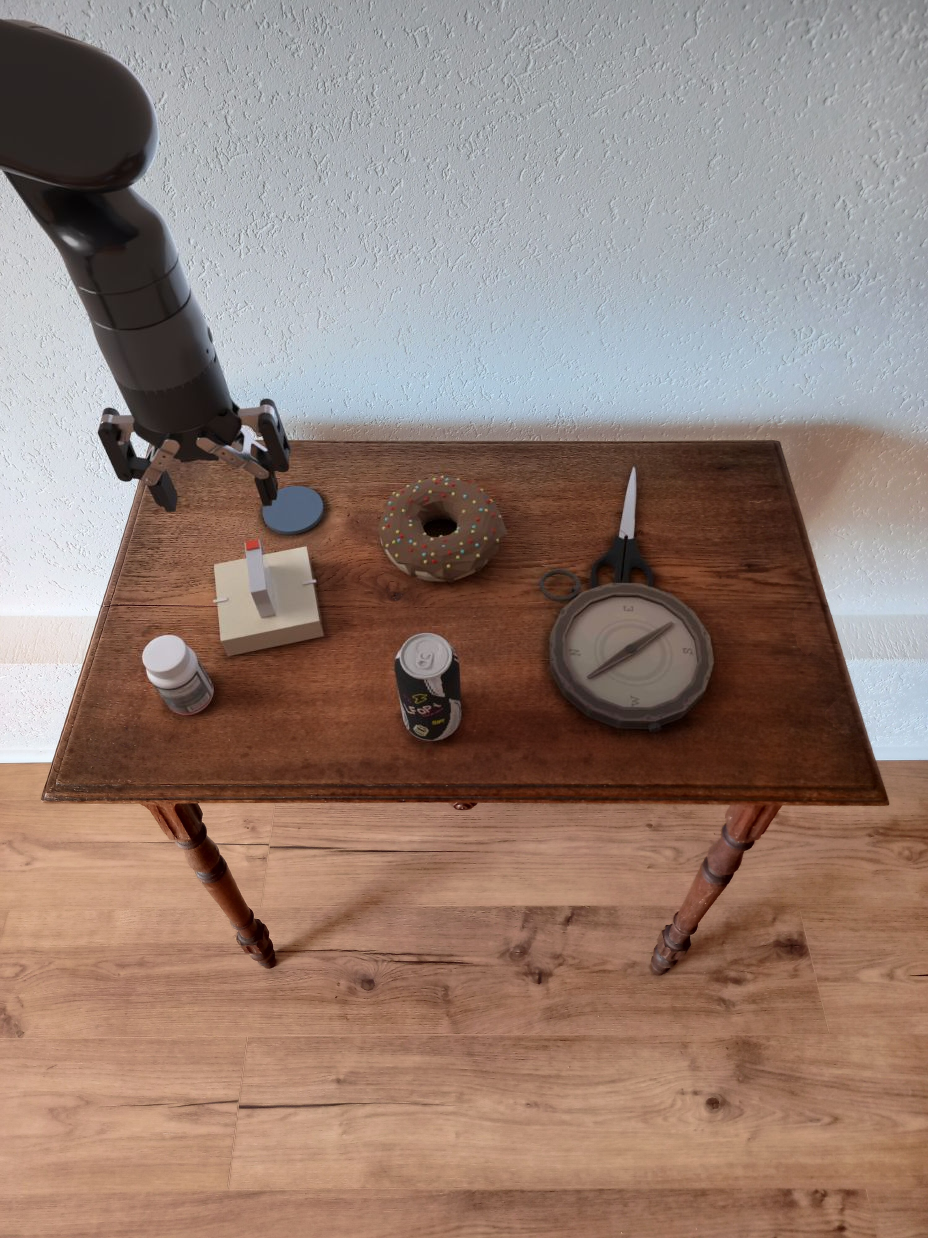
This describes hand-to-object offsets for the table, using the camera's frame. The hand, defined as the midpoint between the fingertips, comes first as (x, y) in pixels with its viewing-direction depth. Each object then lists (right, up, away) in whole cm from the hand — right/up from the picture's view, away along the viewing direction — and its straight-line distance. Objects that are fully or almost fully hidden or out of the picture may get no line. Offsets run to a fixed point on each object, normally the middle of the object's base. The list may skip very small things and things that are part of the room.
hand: (221, 501), depth 72 cm
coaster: (+2, +2, +22) cm, 22 cm away
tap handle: (+1, -8, +12) cm, 14 cm away
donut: (+20, -2, +19) cm, 27 cm away
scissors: (+40, -1, +19) cm, 44 cm away
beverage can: (+19, -20, +7) cm, 28 cm away
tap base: (+1, -9, +15) cm, 17 cm away
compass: (+38, -13, +11) cm, 42 cm away
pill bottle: (-6, -18, +9) cm, 21 cm away
